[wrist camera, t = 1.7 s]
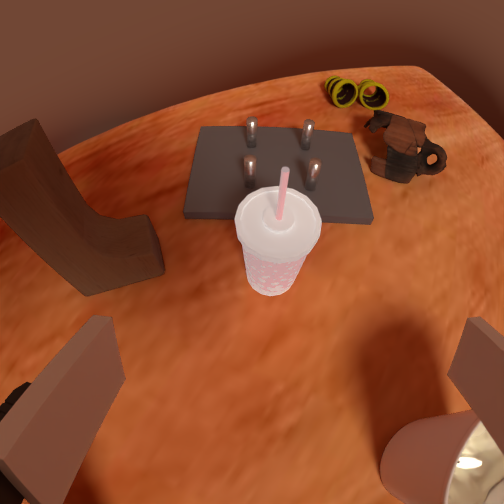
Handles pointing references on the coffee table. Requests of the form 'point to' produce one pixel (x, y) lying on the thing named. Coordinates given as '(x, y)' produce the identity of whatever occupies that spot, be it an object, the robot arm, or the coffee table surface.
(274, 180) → the cup stand
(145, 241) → the wooden block
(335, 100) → the opera glasses
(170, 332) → the coffee table surface
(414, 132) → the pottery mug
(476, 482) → the candle holder
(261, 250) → the beverage cup
